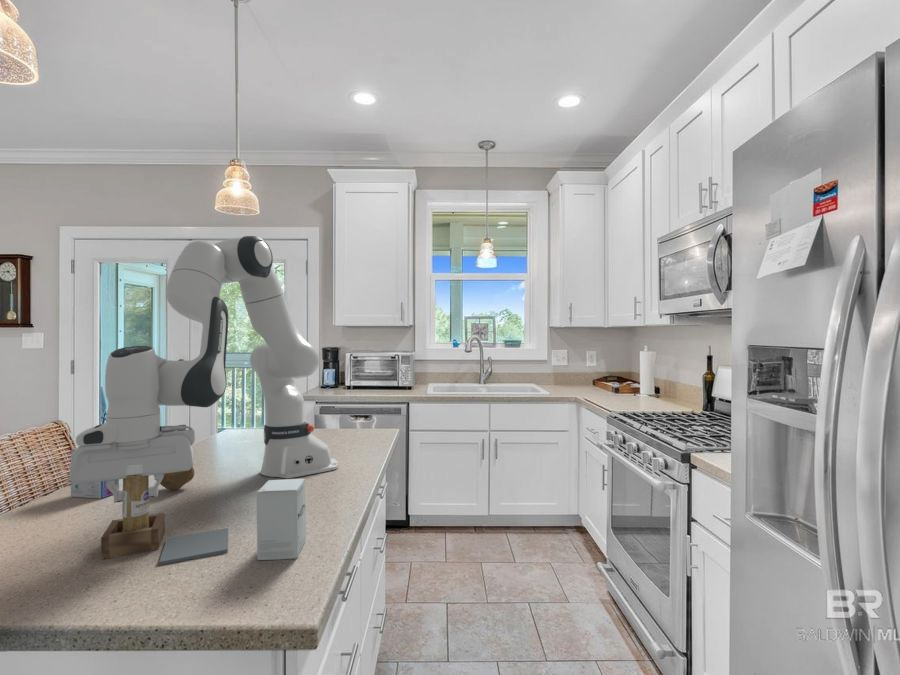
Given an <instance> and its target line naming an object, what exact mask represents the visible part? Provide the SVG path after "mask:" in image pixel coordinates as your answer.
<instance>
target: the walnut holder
mask: <svg viewBox="0 0 900 675" xmlns="http://www.w3.org/2000/svg"><path fill="white" fill-rule="evenodd" d="M165 516H166V515H165V512H159V513H153V514H152V513H151V514H149V528H145V529H138V530H132V531H126V532H122V530H123V518H120V519H113V520H112V521H111V522H110V523H109V525H108V527H107V528H106V529H105V530H104V533H103V534H102V536H101V537H100V542H101V543H100V547H101V548H100V551H101V552H100V553H101V560H104V558H106V559H111V557H112V558H116V557H121V556H129V555H134V554H138V553H139V554H140V553H144V552H150V551H156V550H160V546H161V545H162V544H161V543H162V540H163V538H164V536H165V532H166V526H165V525H166V522H165Z"/></svg>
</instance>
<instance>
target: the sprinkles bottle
mask: <svg viewBox="0 0 900 675" xmlns="http://www.w3.org/2000/svg"><path fill="white" fill-rule="evenodd" d="M142 473H143V466H142V465H129V466H126V475H128V476H127V478H126V479H122V490H121V491H122V493H123V497H122V498H123V501H122V507H121V508H122V515H121V516H122V519H123V530H122V532H126V531H132V530H138V529H145V528H149V515H150V498H148V495H149V493H148V489H149V487H150V485H149V477H150V475H149V476H142V475H141V474H142Z"/></svg>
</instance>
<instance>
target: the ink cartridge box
mask: <svg viewBox="0 0 900 675" xmlns="http://www.w3.org/2000/svg"><path fill="white" fill-rule="evenodd" d="M74 451H75V449H71V450H70V458H71V457H72V454H73V452H74ZM115 485H116V487H117V488H118V489H119V490H120V479H118V480H117V483H116V484H115ZM110 496H114V494H112V493H111V491H110V490H109V489H108V488H107V487H106V481H102V482H94V483H87V484H79V485H75V484H73V483H72V482H71V481H70V497H71V498H85V499H87V498H88V499H103V498H104V499H105V498H106V497H110Z"/></svg>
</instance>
